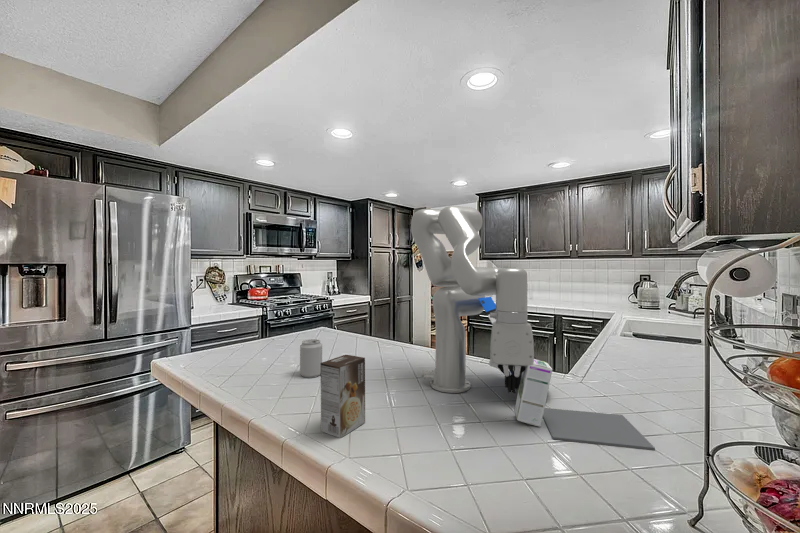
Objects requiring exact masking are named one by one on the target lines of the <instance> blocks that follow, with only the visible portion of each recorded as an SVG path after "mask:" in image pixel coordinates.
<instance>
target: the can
mask: <svg viewBox="0 0 800 533" xmlns="http://www.w3.org/2000/svg"><path fill="white" fill-rule="evenodd" d="M299 362H300V363H299V374H300V375H301V376H302V377H303V378H308V379H312V378H316V377H319V376H321V364H320V363H322V362H323V343H321V340H320V339H318V338H317V339H316V338H309V339H305V340H302V342H301V345H300V347H299Z"/></svg>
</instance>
